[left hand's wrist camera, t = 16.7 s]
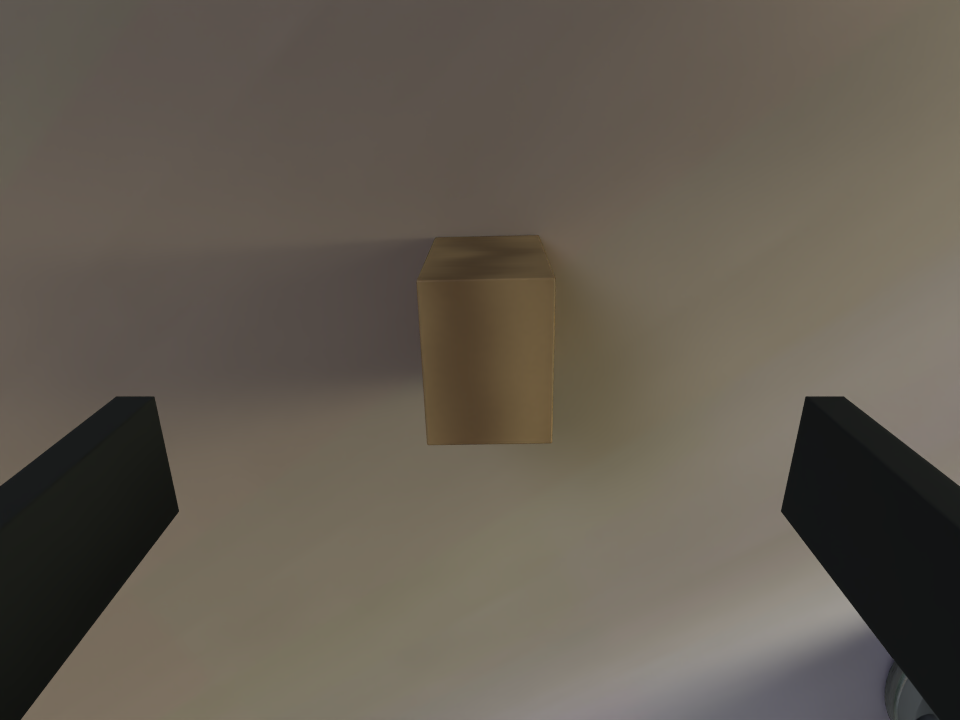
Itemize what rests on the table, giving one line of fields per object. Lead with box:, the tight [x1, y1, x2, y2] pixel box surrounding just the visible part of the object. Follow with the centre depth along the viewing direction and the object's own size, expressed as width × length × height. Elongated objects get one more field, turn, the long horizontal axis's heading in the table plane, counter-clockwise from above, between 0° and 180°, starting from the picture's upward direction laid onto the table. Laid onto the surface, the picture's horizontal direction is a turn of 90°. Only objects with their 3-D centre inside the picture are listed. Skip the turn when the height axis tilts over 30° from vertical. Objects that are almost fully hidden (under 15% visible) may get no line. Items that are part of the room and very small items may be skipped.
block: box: [417, 235, 556, 445], centre depth 27 cm, size 5×7×8 cm
